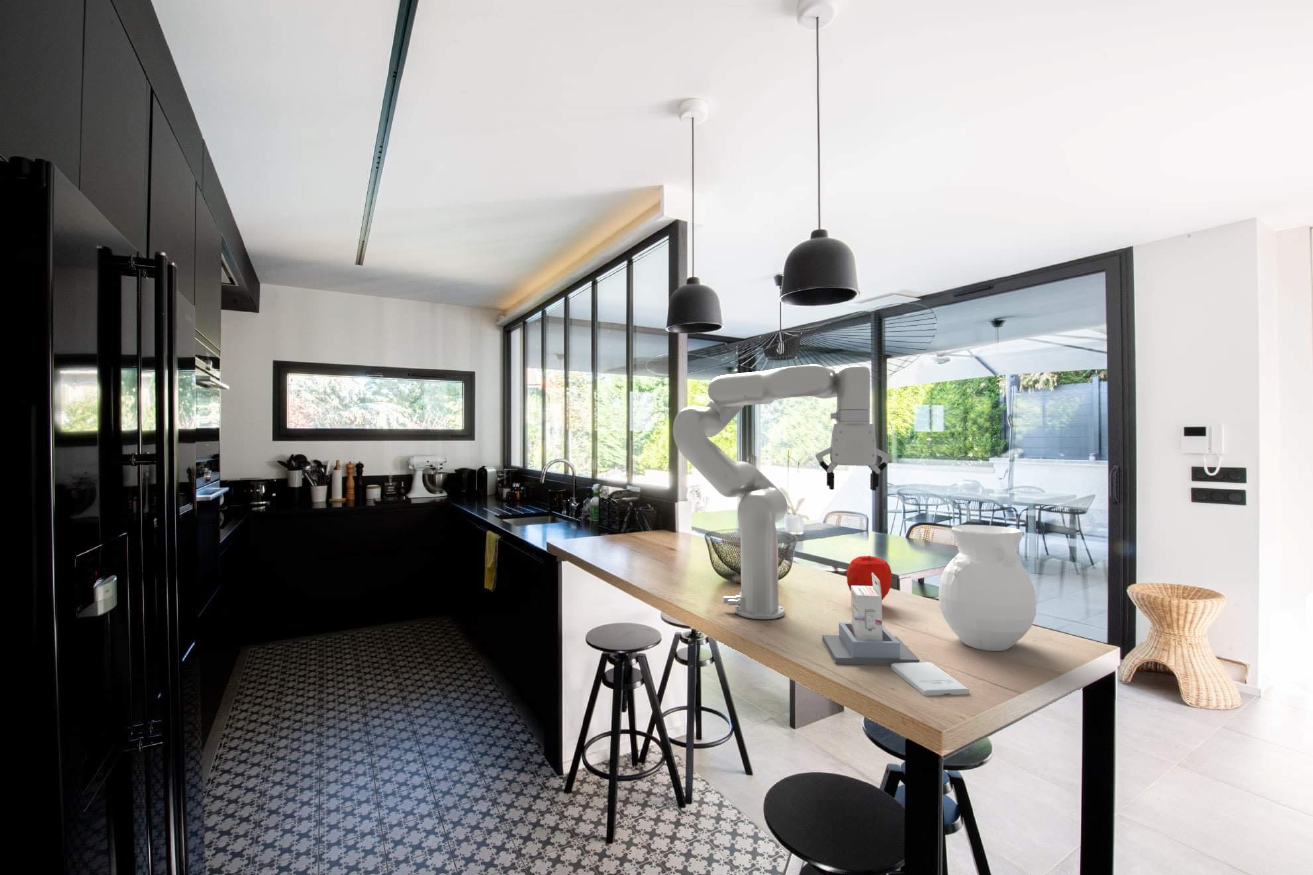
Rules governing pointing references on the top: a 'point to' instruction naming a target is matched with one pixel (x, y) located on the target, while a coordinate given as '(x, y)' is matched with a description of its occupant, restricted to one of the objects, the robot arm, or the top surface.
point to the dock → (867, 648)
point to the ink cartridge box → (867, 611)
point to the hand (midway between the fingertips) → (852, 489)
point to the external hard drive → (929, 679)
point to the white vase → (987, 588)
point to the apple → (869, 573)
